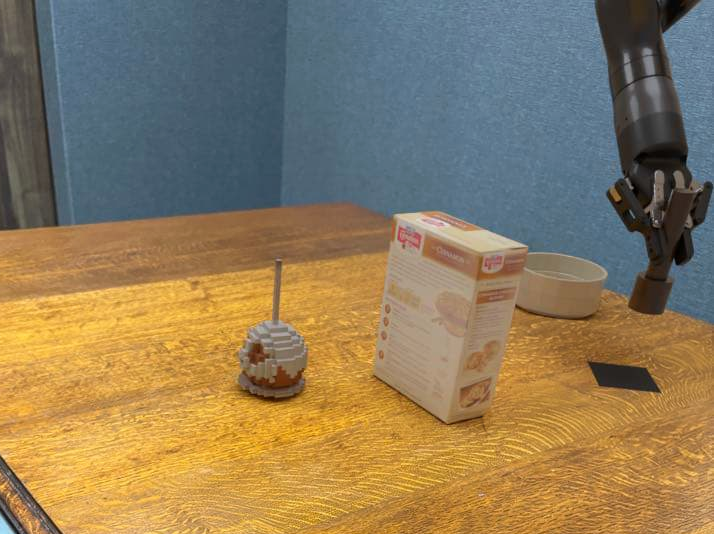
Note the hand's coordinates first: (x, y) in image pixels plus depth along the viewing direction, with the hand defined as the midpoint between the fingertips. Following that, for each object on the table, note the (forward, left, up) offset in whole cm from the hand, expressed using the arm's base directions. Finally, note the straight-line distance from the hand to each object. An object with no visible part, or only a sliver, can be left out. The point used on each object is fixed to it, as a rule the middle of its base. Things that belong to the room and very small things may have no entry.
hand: (672, 261), depth 96 cm
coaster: (+1, -2, -16) cm, 16 cm away
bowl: (+6, -30, -16) cm, 34 cm away
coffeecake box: (+27, +9, -16) cm, 32 cm away
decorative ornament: (+46, +12, -16) cm, 50 cm away
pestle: (+1, -2, -6) cm, 7 cm away
